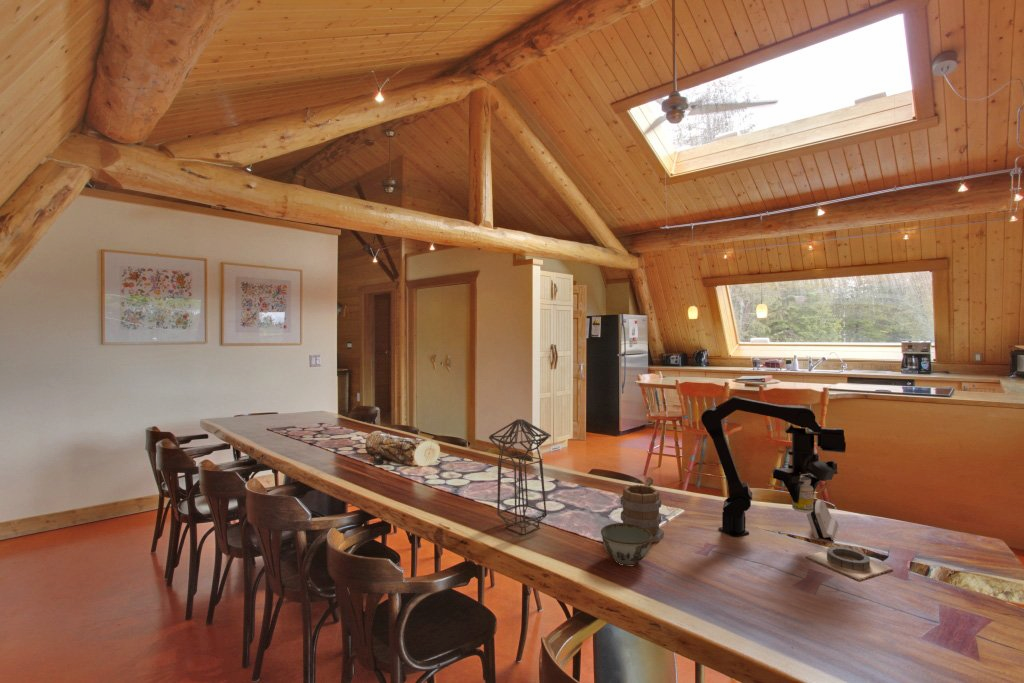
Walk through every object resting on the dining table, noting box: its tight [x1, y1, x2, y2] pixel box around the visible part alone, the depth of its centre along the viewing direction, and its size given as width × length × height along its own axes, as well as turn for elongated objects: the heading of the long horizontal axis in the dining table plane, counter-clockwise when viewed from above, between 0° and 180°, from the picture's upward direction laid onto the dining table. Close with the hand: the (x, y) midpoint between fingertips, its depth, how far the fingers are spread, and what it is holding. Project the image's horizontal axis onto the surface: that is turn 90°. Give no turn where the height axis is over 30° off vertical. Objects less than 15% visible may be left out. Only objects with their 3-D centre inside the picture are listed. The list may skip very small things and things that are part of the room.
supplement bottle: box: [791, 476, 814, 514], centre depth 144 cm, size 5×5×10 cm
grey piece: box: [806, 499, 839, 541], centre depth 154 cm, size 17×5×10 cm, turn 142°
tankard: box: [620, 476, 665, 543], centre depth 154 cm, size 20×13×15 cm, turn 148°
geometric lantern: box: [488, 418, 552, 535], centre depth 156 cm, size 16×16×35 cm
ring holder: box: [805, 546, 894, 582], centre depth 131 cm, size 14×14×2 cm
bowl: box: [600, 522, 652, 566], centre depth 133 cm, size 14×13×8 cm
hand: (802, 501), depth 144 cm, fingers closed on supplement bottle, 5 cm apart
